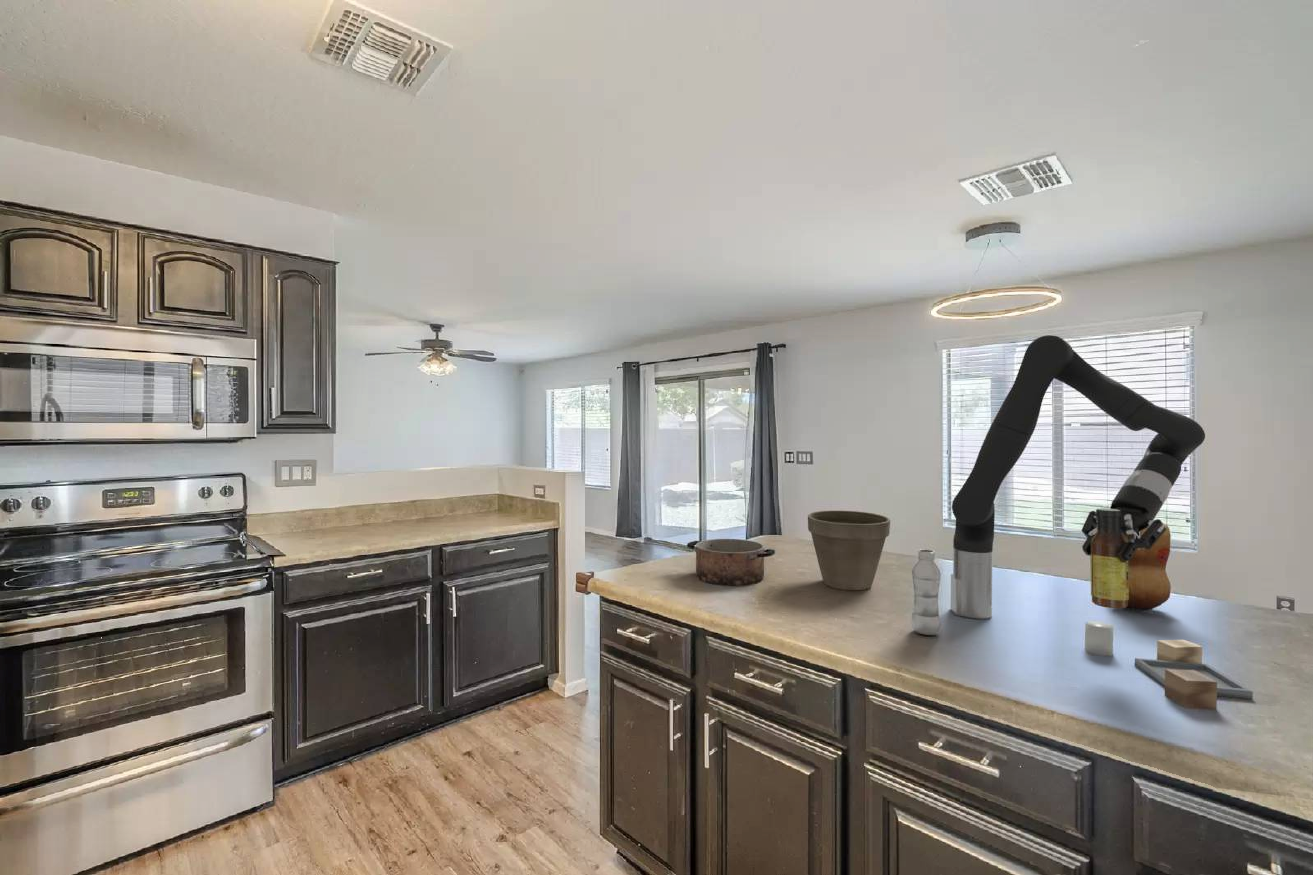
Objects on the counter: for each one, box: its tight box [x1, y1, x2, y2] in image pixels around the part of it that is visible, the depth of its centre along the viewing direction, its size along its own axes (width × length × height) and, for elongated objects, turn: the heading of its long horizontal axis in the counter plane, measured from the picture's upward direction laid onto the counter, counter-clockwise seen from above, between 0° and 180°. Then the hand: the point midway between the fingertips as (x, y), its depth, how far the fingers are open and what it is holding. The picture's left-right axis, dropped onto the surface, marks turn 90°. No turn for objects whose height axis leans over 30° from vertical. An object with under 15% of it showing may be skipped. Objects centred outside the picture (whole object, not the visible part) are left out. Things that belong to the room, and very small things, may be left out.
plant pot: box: [807, 510, 891, 591], centre depth 185 cm, size 25×25×22 cm
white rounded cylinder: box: [1084, 620, 1114, 657], centre depth 130 cm, size 5×5×6 cm
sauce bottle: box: [1089, 508, 1129, 610], centre depth 121 cm, size 6×6×20 cm
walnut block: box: [1164, 669, 1218, 710], centre depth 107 cm, size 5×5×5 cm
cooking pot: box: [686, 538, 776, 587], centre depth 194 cm, size 30×22×11 cm
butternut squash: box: [1122, 519, 1172, 612], centre depth 160 cm, size 14×13×25 cm
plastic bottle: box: [910, 549, 942, 636], centre depth 142 cm, size 6×7×20 cm
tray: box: [1134, 657, 1254, 700], centre depth 115 cm, size 13×13×2 cm
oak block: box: [1156, 639, 1203, 664], centre depth 124 cm, size 6×4×4 cm, turn 94°
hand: (1103, 556), depth 121 cm, fingers closed on sauce bottle, 6 cm apart
